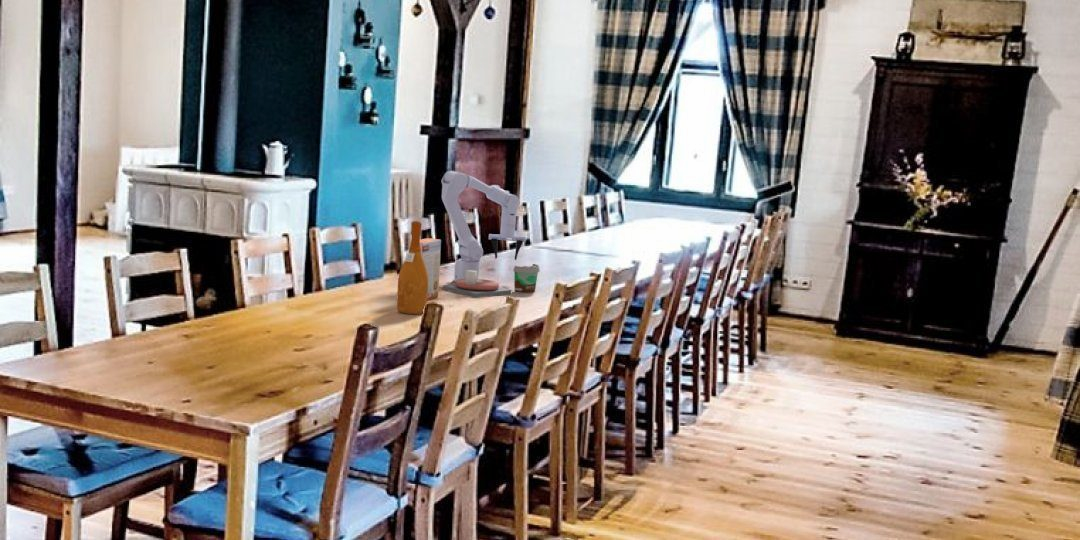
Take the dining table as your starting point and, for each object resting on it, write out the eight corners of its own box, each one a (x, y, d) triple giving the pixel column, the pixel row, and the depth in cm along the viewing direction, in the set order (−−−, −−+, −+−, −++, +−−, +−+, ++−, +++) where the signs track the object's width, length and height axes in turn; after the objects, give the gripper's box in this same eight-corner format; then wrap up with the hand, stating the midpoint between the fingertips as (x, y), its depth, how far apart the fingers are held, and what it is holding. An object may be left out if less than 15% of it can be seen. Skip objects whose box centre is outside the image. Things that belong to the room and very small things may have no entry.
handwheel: (466, 281, 415) (467, 264, 415) (505, 286, 410) (506, 269, 409) (448, 286, 401) (449, 268, 400) (488, 291, 395) (489, 274, 394)
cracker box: (423, 295, 390) (427, 237, 387) (438, 297, 388) (442, 239, 385) (404, 300, 377) (408, 240, 374) (420, 303, 375) (423, 242, 372)
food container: (524, 294, 407) (526, 268, 405) (511, 292, 410) (513, 265, 409) (544, 291, 416) (546, 265, 415) (531, 289, 420) (533, 263, 419)
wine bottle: (392, 309, 360) (397, 219, 356) (421, 309, 364) (426, 219, 360) (401, 315, 352) (406, 222, 347) (430, 315, 356) (435, 223, 351)
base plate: (442, 289, 406) (442, 285, 405) (478, 286, 418) (479, 282, 418) (474, 297, 393) (474, 293, 393) (510, 294, 406) (511, 290, 405)
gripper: (489, 224, 424) (486, 258, 426) (526, 226, 424) (524, 261, 426) (490, 222, 431) (487, 256, 433) (526, 225, 431) (524, 259, 433)
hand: (505, 258), depth 430 cm, fingers open, 7 cm apart
